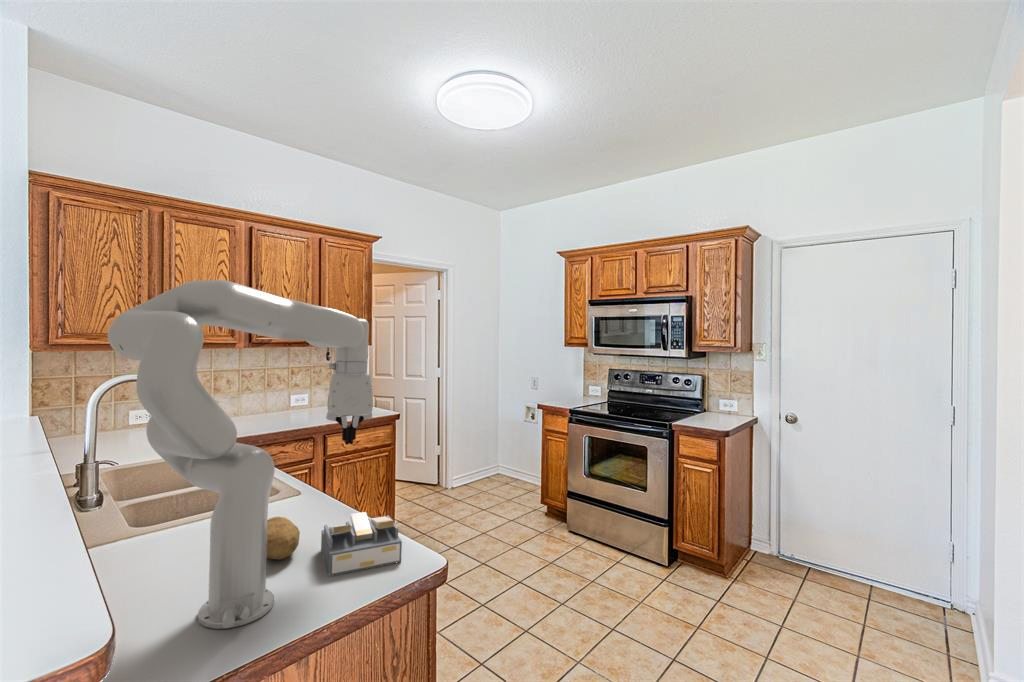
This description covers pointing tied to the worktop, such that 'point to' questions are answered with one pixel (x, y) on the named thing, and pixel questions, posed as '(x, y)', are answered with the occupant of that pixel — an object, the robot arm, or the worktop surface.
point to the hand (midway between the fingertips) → (348, 443)
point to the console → (360, 549)
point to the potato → (281, 538)
